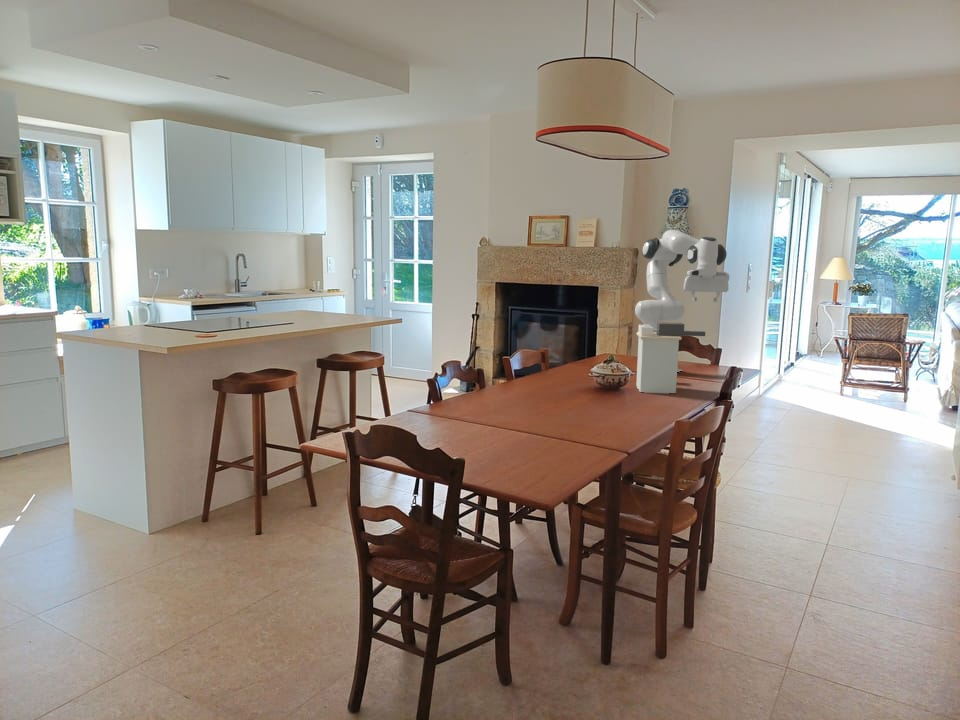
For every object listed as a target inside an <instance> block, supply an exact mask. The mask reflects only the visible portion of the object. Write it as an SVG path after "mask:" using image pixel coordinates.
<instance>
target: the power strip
mask: <svg viewBox="0 0 960 720" xmlns="http://www.w3.org/2000/svg"><path fill="white" fill-rule="evenodd" d="M637 332H638V333H639V334H640V335H641V336H653V327H651V326H650V325H644V324H643V323H640V324H638V330H637Z"/></svg>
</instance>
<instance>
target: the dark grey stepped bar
mask: <svg viewBox="0 0 960 720" xmlns="http://www.w3.org/2000/svg"><path fill="white" fill-rule="evenodd" d="M653 332H657V335H658V336H680V337H685V336H686V337H706V331H704V330H685V324H684V323H683V322H667V321H662V322H661V321H658V322H657V329H653Z"/></svg>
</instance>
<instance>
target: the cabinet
mask: <svg viewBox="0 0 960 720" xmlns="http://www.w3.org/2000/svg"><path fill="white" fill-rule="evenodd" d="M635 334H636V335H637V337H638V342H637V343H638V346H637V363H636V364H637V365H636V382H635V383H636V384H635V385H636V388H637V390H638V389H639V390H638V391H639V393H640V392H644V393H646V394H669V393H676V394H677V383H678V382H677V381H678V380H677V379H678V373H677V366H678V367H679V361H678V360H679V345H680V343H679V342H680V341H681V340H682V339H683V338H682V336H658V335H657V333H653V336H641V335H640V334H639V333H638V331H636V333H635ZM644 393H643V394H644Z"/></svg>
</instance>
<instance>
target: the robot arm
mask: <svg viewBox="0 0 960 720" xmlns="http://www.w3.org/2000/svg"><path fill="white" fill-rule="evenodd" d="M641 254H642V256H643V257H644V258H645V259H647V260H650V261H649V262H648V263H647V266H646V278H645V279H646V289H647V293H648V294H649V296H650V297H652V298H654V299H645V300H639V301H638V302H637V303H636V305H635V309H634V313H635V317H636V318H637V319H638V320H640V321H641V322H642V324H643V325H650V326H651V327H653V329H657V322H661V321H662V322H667V321H669V322H671V321H678V320H681V319H682V318H683V317H684V315H685V310H686V309H685V305H684V304H683V302H682V301H680V300H678V298H676V297H675V296H674V294H672V293H671V289H670V287H669V279H668V272H667V269H668V267H673V266H674V265H676V264H677V263H679V262H680V261H681V260H682V258H683V257H684V256H683V255H686V260H687V261H688V262H689V263H690V264H692V265H697V267H696V268H694V269H690V270H687V272H686V275H687V276H685V279H684V281H683V291H684V292H690V295H691V297H692V301H693V302H697V300H698V298H697V297H696V296H695V294H696V293H697V292H699V293H701V292H702V293H703V292H704V293H707V292H709V293H716V294H715V297H713V300H712V302H715V303H716V302H717V303H718V298H719V297H720V295H721V293H727V292H728V291H729V280H730V275H729V273H727V272H725V271H724V272H722V271H720V272H719V271H718V266H720V265H722V264H723V263H724V262H725V261H726V259H727V254H728V253H727V250H726V248H725V247H724V246H723V245H722V244H721V243H719V242H718V240H717V239H716V237H710V236H702V237H701V238H700V239H698V238H696V237H693V236H691V235H689V234H687V233H685V232H682V231H681V230H677V229H668V230H666V231H664V233H663V234H662V237H661V238H658V237H654V238H651V239H648V240H646V241H645V242H644V243H643V245H642V249H641ZM653 333H657V332H653ZM678 367H679V365H678V366H677V372H679V371H682V372H683V369H682V368H678ZM679 373H680V372H679Z"/></svg>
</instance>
